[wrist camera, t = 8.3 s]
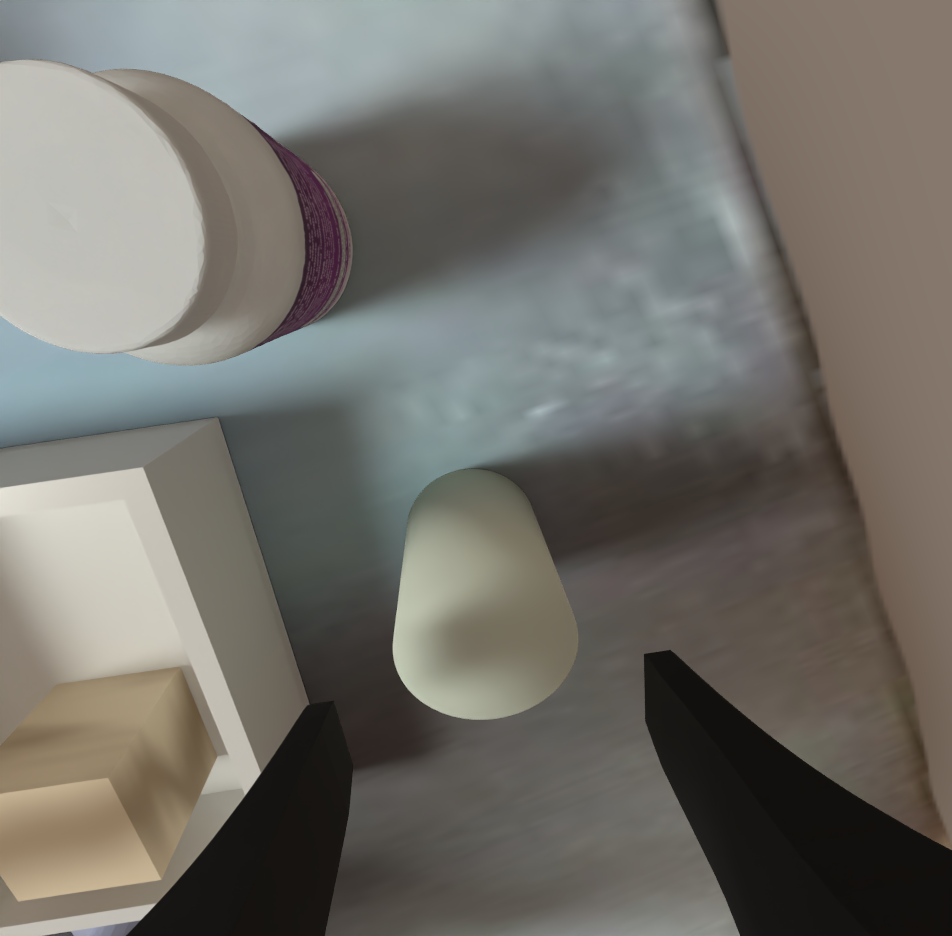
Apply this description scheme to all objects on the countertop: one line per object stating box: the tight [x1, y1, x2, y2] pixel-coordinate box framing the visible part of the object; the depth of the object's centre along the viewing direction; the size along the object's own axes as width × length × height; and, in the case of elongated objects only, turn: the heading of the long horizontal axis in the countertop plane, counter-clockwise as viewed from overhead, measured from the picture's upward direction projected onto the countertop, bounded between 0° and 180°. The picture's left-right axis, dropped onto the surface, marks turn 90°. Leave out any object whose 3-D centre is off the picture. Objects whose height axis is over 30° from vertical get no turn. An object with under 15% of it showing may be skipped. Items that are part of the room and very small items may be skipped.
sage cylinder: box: [393, 469, 578, 720], centre depth 17 cm, size 5×5×7 cm
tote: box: [0, 417, 310, 936], centre depth 19 cm, size 18×14×5 cm
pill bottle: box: [0, 59, 353, 365], centre depth 12 cm, size 5×5×10 cm
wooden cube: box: [0, 667, 217, 902], centre depth 20 cm, size 5×5×5 cm
